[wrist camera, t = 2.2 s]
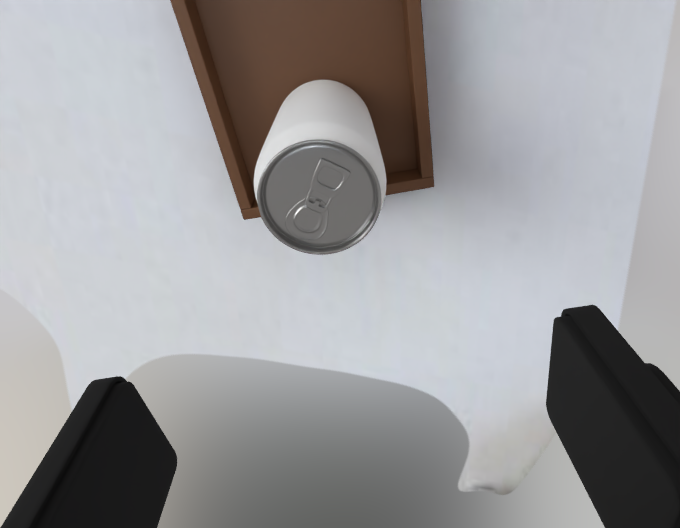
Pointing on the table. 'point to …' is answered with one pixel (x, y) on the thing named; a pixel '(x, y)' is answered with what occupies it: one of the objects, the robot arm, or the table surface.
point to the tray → (310, 75)
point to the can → (320, 170)
